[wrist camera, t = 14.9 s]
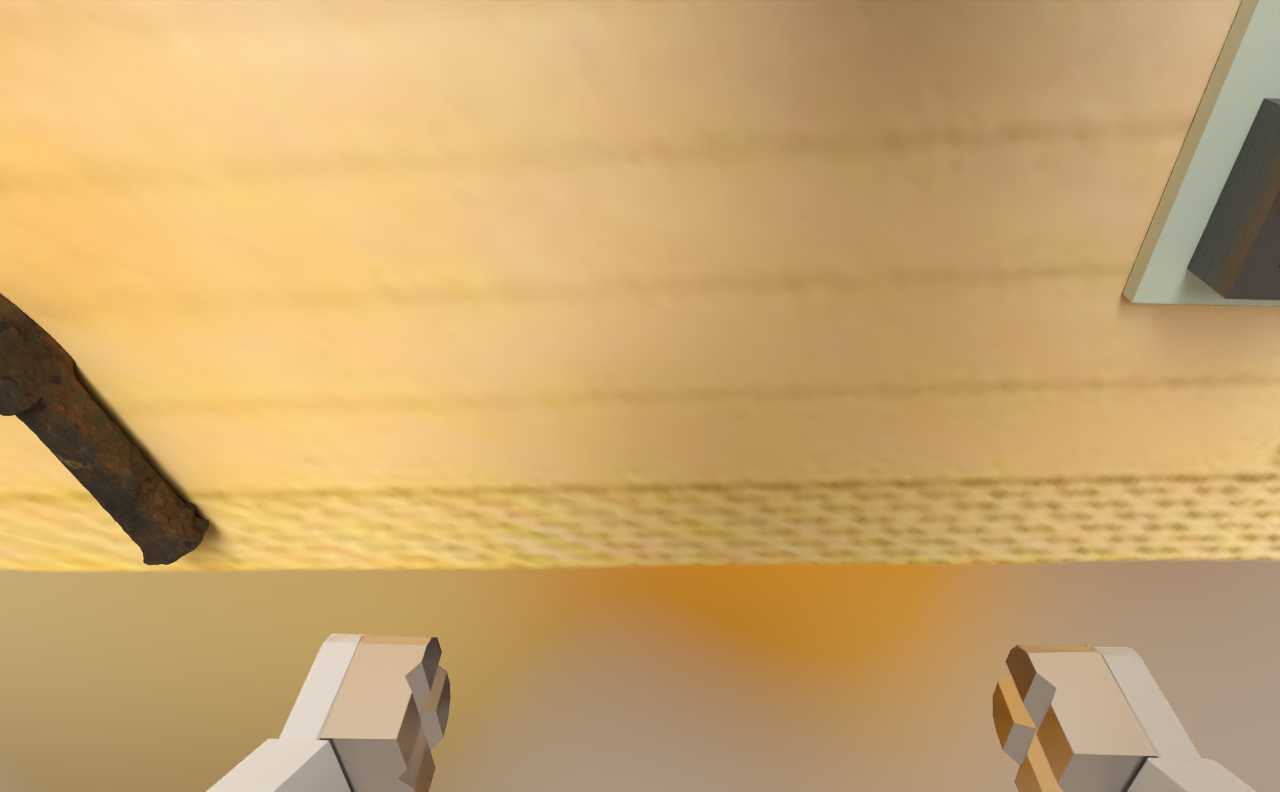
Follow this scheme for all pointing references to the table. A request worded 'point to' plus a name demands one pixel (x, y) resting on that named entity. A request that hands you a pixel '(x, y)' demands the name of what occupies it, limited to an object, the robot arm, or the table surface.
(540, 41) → the table surface
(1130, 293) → the keeper board
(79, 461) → the hand tool
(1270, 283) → the grey hollow frame
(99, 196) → the table surface
